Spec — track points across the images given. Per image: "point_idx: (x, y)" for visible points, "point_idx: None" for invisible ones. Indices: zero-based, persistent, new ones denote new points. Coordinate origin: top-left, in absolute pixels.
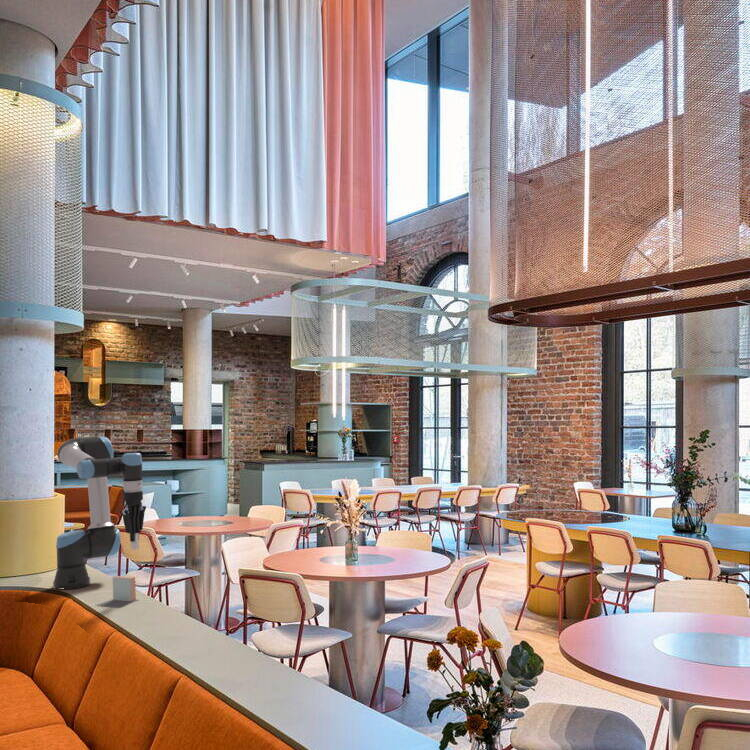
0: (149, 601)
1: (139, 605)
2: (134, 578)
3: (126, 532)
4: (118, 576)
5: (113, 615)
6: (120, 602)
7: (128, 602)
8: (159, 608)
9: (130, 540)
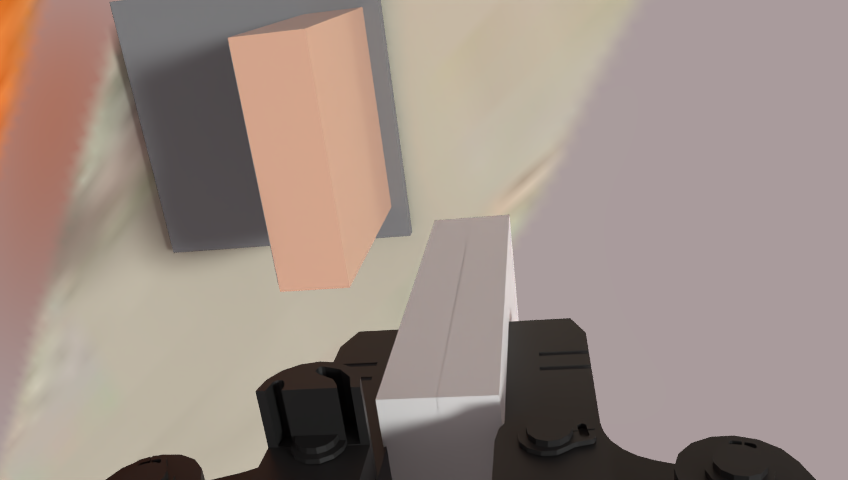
0: None
1: (333, 298)
2: (342, 283)
3: (140, 464)
4: (297, 66)
5: (72, 308)
6: None
7: None
8: None
9: (343, 355)
